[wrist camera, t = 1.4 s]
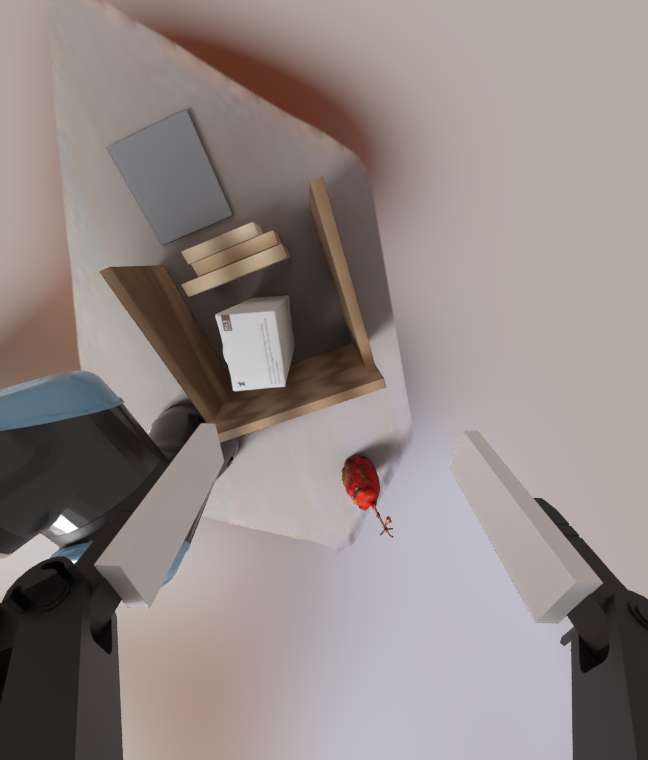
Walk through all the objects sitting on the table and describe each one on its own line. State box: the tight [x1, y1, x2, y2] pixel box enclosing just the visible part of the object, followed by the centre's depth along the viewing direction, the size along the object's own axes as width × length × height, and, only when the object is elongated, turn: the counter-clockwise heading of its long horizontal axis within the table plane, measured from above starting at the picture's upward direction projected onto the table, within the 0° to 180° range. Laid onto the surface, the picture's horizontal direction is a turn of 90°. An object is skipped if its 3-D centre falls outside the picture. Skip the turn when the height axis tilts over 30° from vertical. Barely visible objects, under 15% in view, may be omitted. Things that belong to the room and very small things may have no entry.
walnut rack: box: [99, 176, 386, 443], centre depth 30 cm, size 23×21×14 cm
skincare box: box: [215, 295, 295, 391], centre depth 30 cm, size 8×6×15 cm
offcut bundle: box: [181, 222, 291, 297], centre depth 29 cm, size 12×5×8 cm, turn 109°
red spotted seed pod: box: [342, 455, 393, 538], centre depth 45 cm, size 8×7×15 cm
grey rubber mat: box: [106, 110, 233, 245], centre depth 29 cm, size 10×10×1 cm
